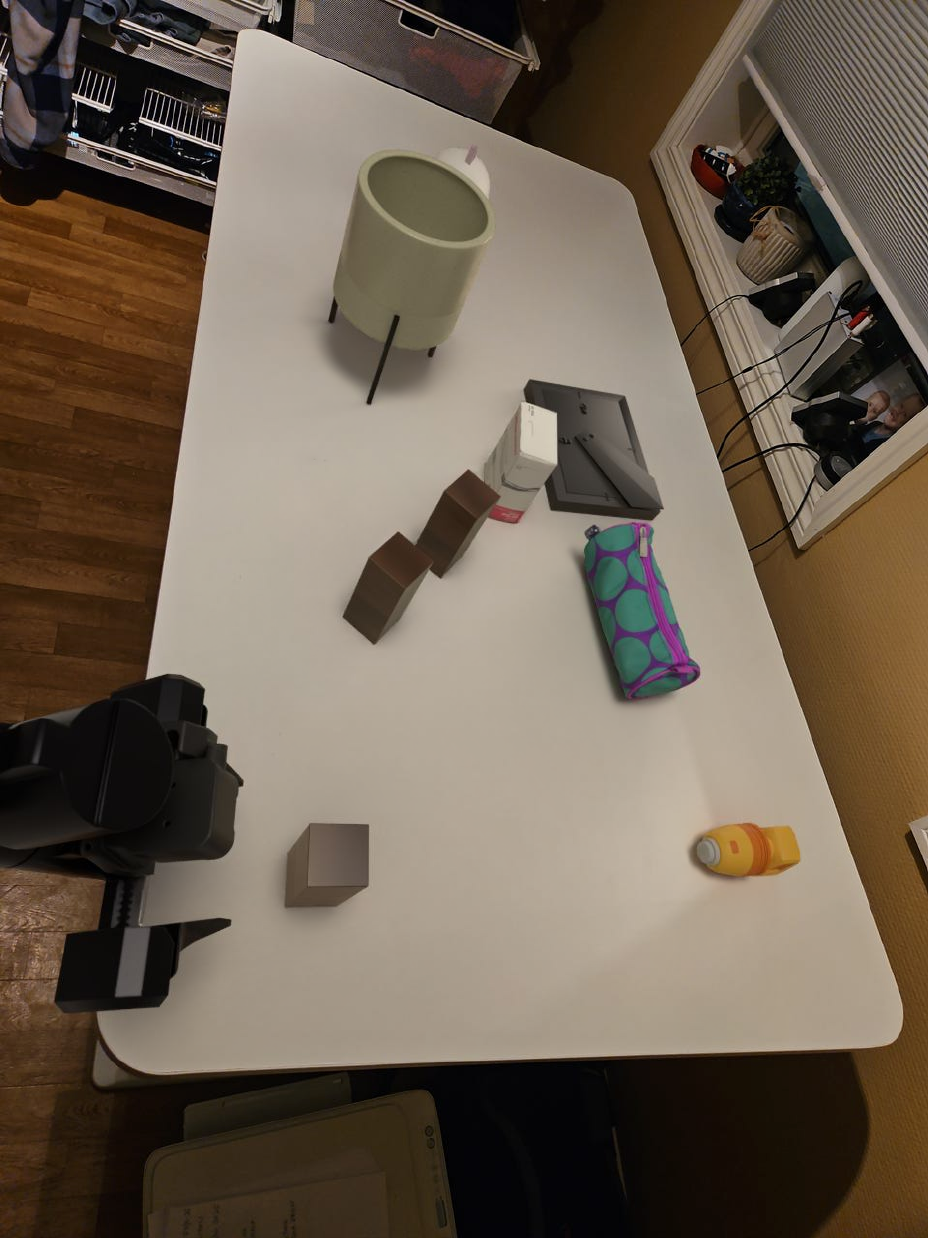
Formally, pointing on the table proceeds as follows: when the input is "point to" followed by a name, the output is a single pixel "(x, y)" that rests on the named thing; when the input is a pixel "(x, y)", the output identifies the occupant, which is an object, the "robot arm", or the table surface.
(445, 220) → the planter
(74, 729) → the robot arm
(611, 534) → the pencil case
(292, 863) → the walnut block loose
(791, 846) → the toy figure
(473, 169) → the ornament
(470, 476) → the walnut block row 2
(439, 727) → the table surface
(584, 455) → the picture frame
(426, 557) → the walnut block
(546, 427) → the ink box
